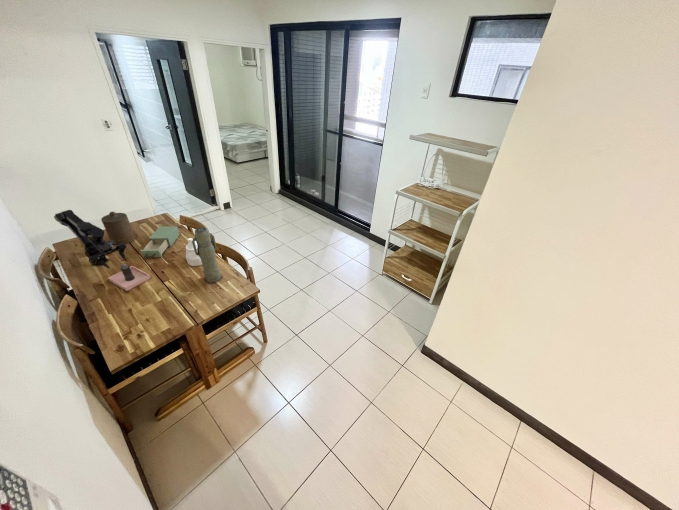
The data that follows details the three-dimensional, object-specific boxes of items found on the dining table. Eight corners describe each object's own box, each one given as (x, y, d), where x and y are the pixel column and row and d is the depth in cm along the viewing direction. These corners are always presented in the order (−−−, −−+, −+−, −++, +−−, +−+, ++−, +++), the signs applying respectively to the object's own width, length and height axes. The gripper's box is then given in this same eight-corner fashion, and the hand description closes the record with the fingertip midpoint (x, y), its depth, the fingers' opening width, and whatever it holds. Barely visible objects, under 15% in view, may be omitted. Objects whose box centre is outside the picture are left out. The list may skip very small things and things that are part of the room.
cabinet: (170, 246, 196) (167, 238, 192) (152, 246, 195) (148, 238, 191) (179, 234, 211) (177, 226, 207) (162, 234, 209) (159, 226, 205)
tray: (109, 280, 163) (107, 277, 162) (134, 268, 174) (132, 265, 172) (126, 291, 157) (125, 287, 155) (150, 277, 167) (149, 274, 166)
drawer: (158, 260, 181) (156, 253, 178) (140, 260, 179) (137, 254, 176) (170, 243, 198) (168, 237, 195) (153, 244, 196) (151, 237, 193)
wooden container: (133, 232, 209) (122, 205, 197) (138, 240, 201) (126, 213, 188) (109, 238, 201) (96, 211, 188) (113, 247, 192) (99, 219, 180)
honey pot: (203, 266, 180) (197, 243, 170) (183, 265, 179) (176, 242, 169) (211, 255, 190) (205, 233, 180) (192, 254, 190) (186, 232, 180)
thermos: (226, 276, 172) (215, 228, 153) (208, 286, 164) (194, 236, 145) (218, 271, 177) (206, 223, 157) (200, 279, 169) (186, 230, 149)
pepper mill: (124, 278, 165) (117, 263, 159) (134, 275, 168) (127, 260, 162) (126, 282, 162) (118, 267, 156) (135, 279, 165) (128, 264, 159)
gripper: (81, 245, 149) (101, 267, 151) (118, 231, 163) (136, 252, 165) (80, 252, 156) (100, 274, 158) (115, 238, 170) (133, 258, 172)
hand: (118, 264), depth 163 cm, fingers open, 9 cm apart
